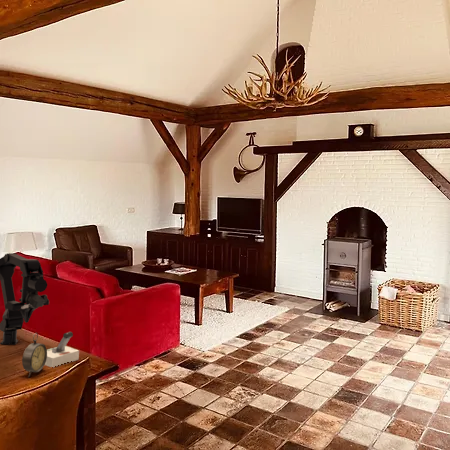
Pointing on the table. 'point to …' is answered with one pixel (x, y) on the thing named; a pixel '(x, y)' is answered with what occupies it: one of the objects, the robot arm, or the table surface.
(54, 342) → the table surface
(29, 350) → the alarm clock
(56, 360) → the switch box
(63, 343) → the breaker lever
